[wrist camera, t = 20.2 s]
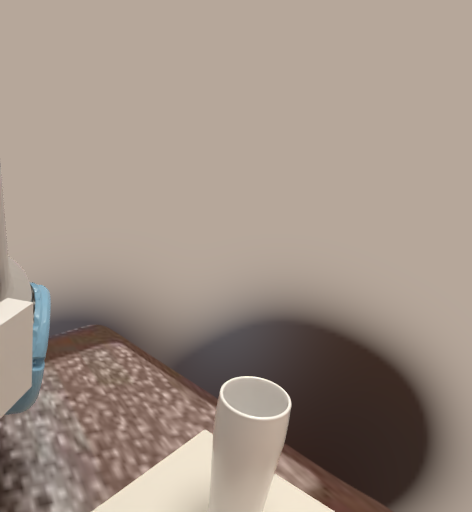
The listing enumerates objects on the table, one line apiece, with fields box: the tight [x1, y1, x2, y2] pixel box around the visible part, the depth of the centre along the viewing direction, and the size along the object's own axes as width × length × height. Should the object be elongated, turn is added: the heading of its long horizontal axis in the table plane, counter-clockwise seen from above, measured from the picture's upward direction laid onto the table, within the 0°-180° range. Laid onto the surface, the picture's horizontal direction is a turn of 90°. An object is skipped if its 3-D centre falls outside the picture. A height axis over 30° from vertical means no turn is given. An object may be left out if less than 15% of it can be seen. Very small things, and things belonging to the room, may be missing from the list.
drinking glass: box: [207, 376, 291, 512], centre depth 43 cm, size 7×7×15 cm
